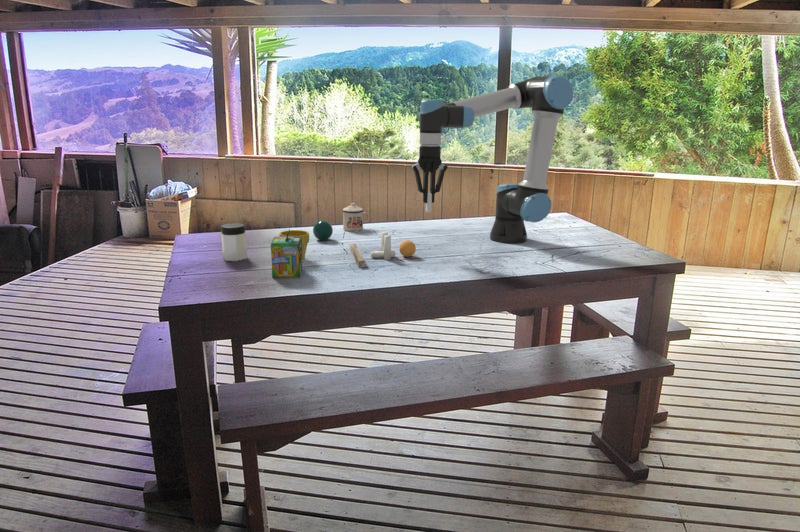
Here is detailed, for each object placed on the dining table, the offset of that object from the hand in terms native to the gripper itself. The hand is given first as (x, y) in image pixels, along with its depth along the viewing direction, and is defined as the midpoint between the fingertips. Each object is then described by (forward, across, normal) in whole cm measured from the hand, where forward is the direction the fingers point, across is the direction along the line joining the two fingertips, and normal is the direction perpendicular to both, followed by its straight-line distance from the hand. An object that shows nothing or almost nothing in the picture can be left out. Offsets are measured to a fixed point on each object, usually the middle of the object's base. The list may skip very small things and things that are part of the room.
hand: (428, 211), depth 206 cm
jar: (+17, +69, -7) cm, 71 cm away
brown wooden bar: (+16, +26, 0) cm, 31 cm away
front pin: (+15, +12, 0) cm, 20 cm away
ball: (+13, +8, 0) cm, 15 cm away
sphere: (+17, +36, -30) cm, 50 cm away
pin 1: (+16, +16, -2) cm, 23 cm away
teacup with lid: (+17, +20, -48) cm, 55 cm away
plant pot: (+17, +48, -2) cm, 51 cm away
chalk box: (+17, +51, +15) cm, 56 cm away
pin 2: (+16, +16, +3) cm, 23 cm away
